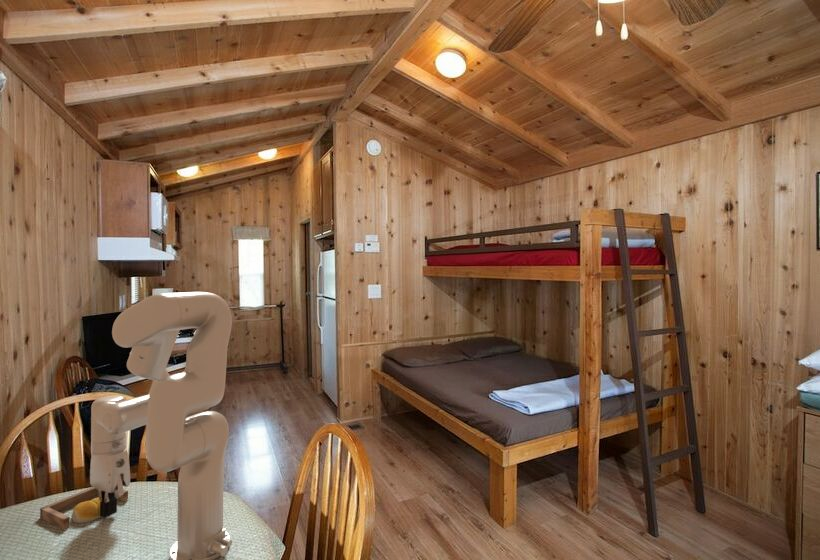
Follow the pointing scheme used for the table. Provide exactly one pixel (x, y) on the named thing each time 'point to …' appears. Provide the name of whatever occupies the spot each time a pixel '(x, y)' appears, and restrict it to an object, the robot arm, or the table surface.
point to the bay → (61, 520)
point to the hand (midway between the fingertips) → (108, 514)
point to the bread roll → (86, 511)
